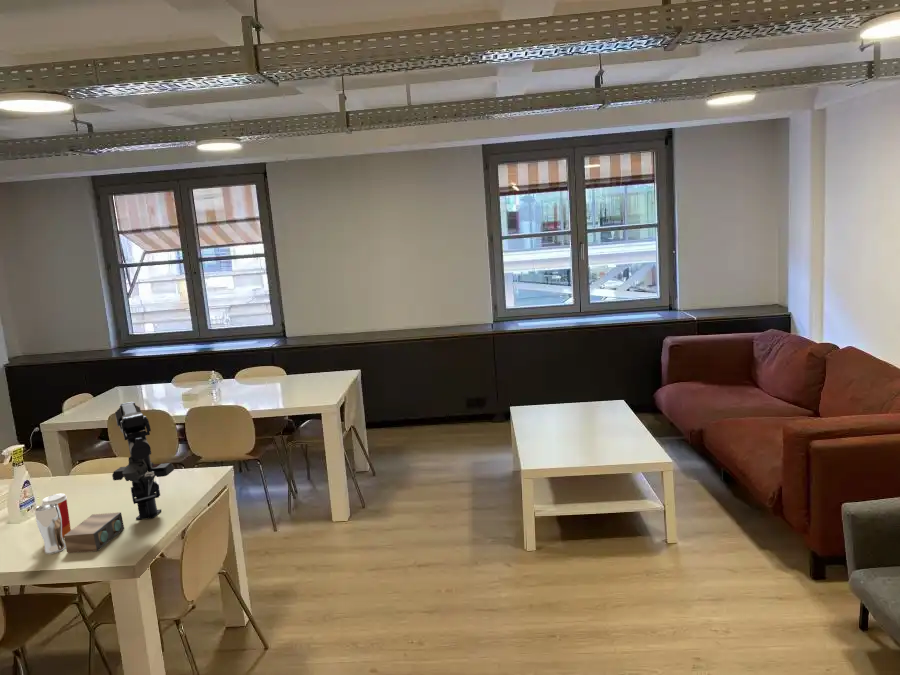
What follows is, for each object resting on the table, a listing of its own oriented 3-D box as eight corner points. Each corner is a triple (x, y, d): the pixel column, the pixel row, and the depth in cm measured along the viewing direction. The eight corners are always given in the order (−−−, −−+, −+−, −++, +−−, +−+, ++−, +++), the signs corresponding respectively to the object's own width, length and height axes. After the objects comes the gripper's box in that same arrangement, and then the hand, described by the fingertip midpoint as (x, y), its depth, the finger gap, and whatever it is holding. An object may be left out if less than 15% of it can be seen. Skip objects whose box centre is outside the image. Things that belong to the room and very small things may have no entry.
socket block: (95, 530, 235) (92, 514, 234) (124, 528, 234) (121, 512, 233) (67, 553, 219) (63, 535, 218) (97, 551, 218) (94, 533, 217)
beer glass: (71, 543, 226) (62, 501, 224) (60, 553, 219) (51, 510, 217) (50, 546, 226) (41, 503, 224) (38, 556, 219) (29, 512, 217)
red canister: (46, 537, 234) (38, 498, 232) (70, 528, 239) (62, 490, 237) (52, 543, 229) (44, 503, 226) (77, 534, 234) (69, 495, 231)
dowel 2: (96, 529, 233) (94, 520, 232) (121, 528, 232) (119, 518, 231) (90, 534, 229) (88, 524, 228) (116, 532, 228) (114, 522, 228)
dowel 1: (82, 540, 225) (80, 530, 224) (108, 538, 224) (106, 528, 223) (76, 546, 221) (74, 535, 220) (102, 544, 220) (100, 533, 220)
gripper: (98, 462, 220) (108, 507, 222) (154, 457, 218) (162, 503, 221) (117, 450, 230) (126, 494, 233) (170, 446, 229) (178, 489, 232)
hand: (147, 495), depth 229 cm, fingers closed
